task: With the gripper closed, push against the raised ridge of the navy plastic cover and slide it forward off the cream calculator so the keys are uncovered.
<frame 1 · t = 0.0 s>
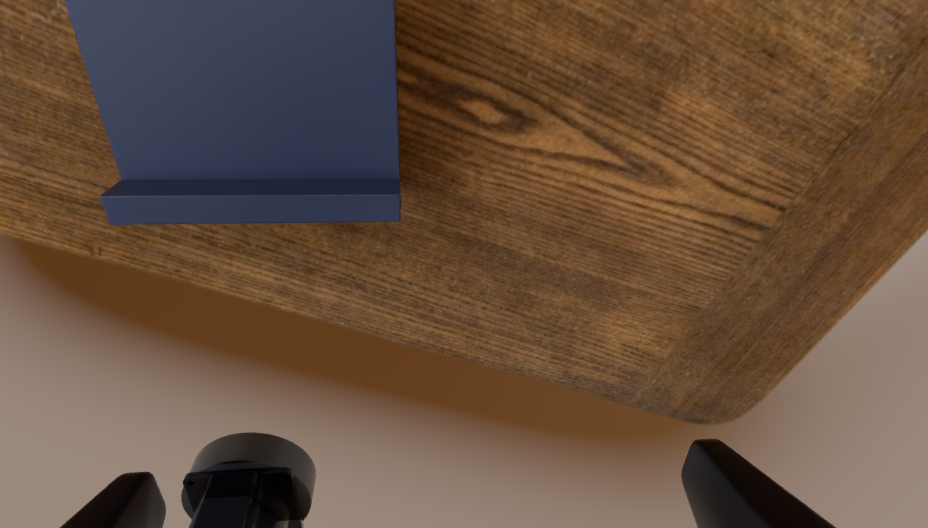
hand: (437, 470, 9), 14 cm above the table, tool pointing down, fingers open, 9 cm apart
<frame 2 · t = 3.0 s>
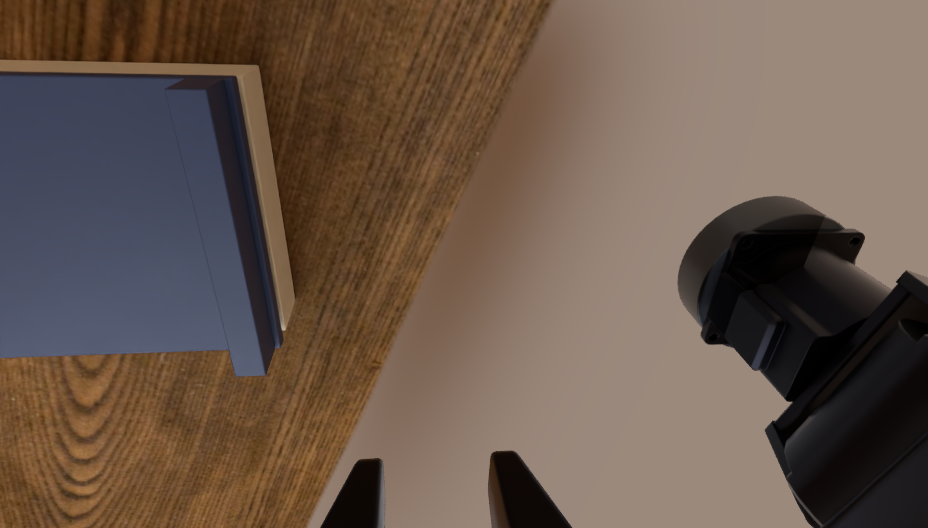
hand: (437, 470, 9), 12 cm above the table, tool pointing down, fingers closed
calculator: (39, 198, 18), on the table
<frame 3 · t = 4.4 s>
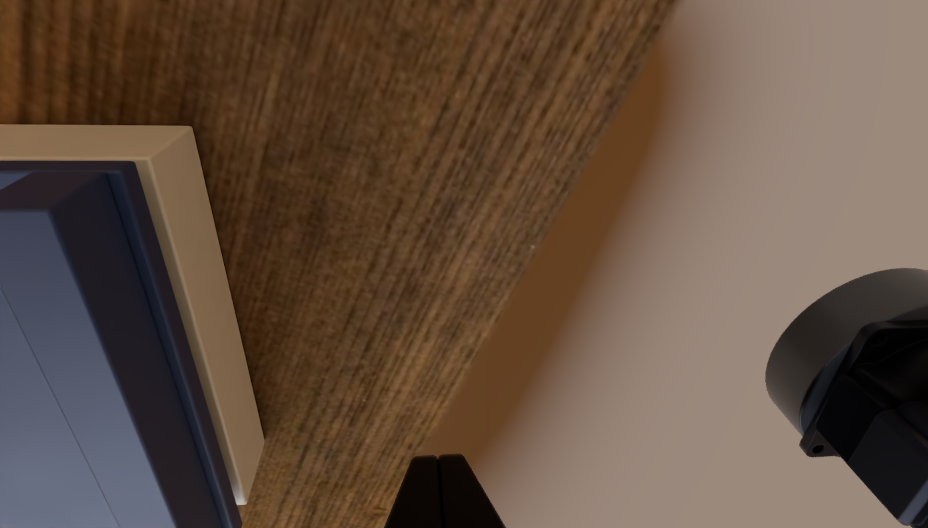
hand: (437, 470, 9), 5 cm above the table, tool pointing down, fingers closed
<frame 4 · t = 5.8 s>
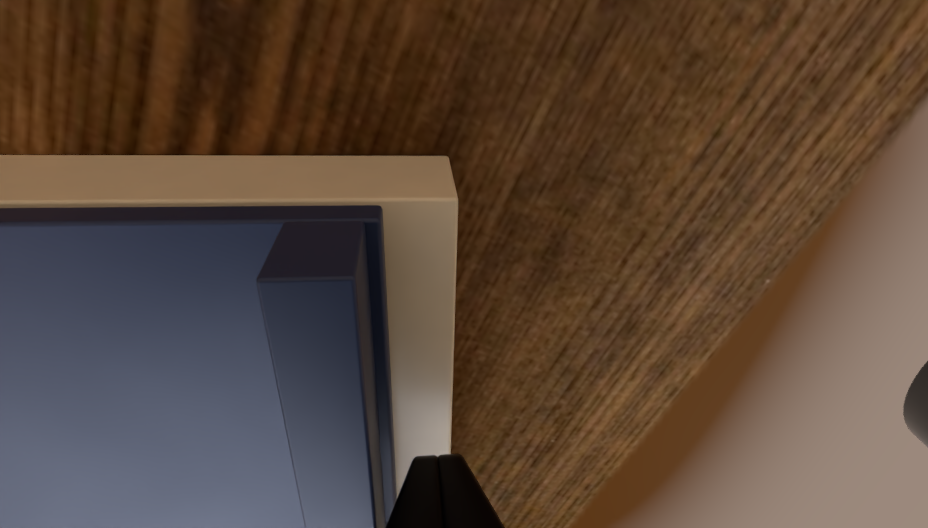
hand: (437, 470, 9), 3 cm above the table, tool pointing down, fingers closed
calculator: (57, 366, 11), on the table
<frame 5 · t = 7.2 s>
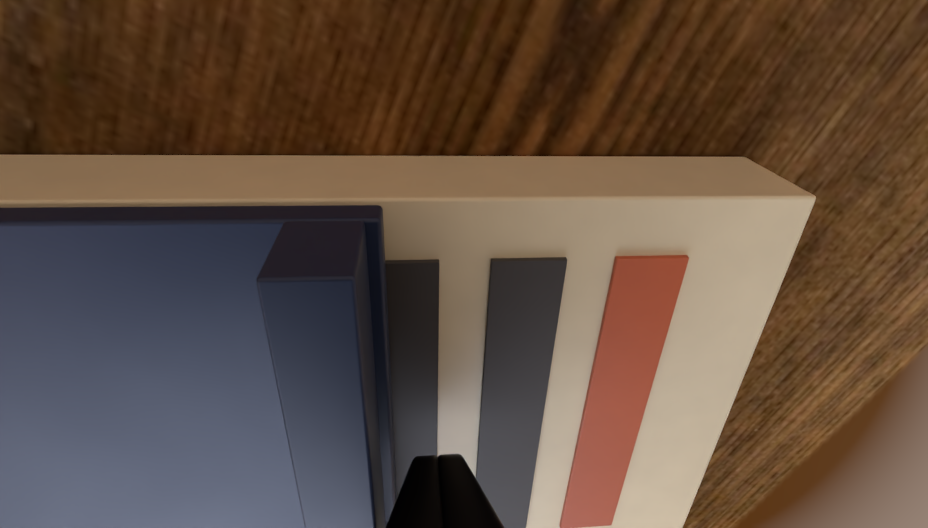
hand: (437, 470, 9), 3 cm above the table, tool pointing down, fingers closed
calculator: (335, 355, 11), on the table
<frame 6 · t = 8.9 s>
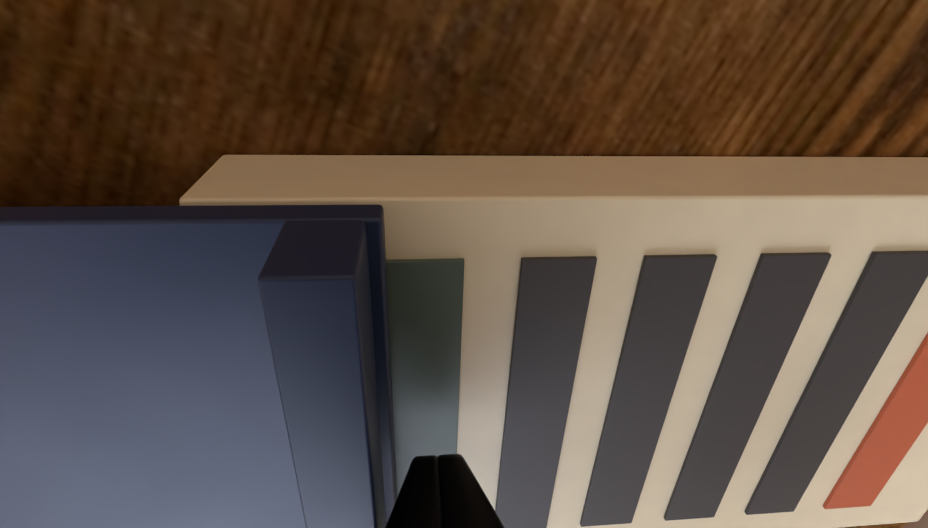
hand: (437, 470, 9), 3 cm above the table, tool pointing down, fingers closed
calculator: (623, 345, 12), on the table
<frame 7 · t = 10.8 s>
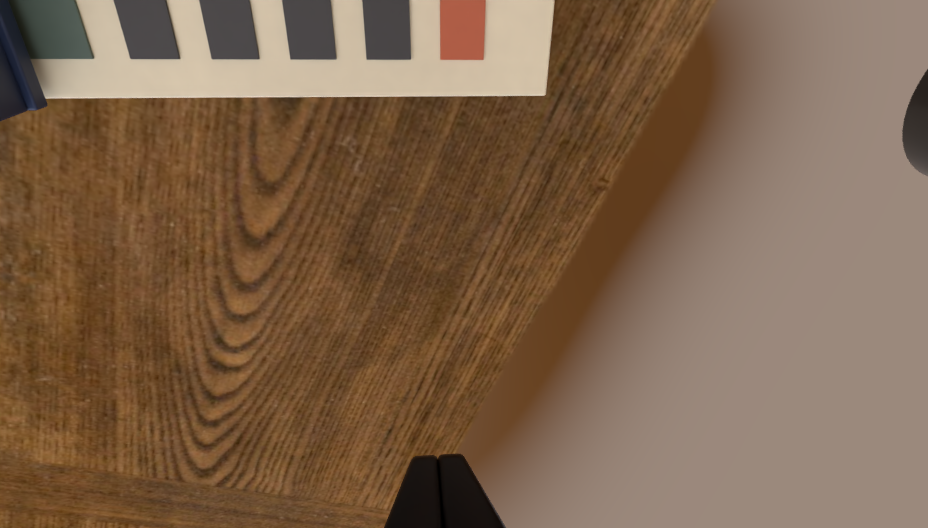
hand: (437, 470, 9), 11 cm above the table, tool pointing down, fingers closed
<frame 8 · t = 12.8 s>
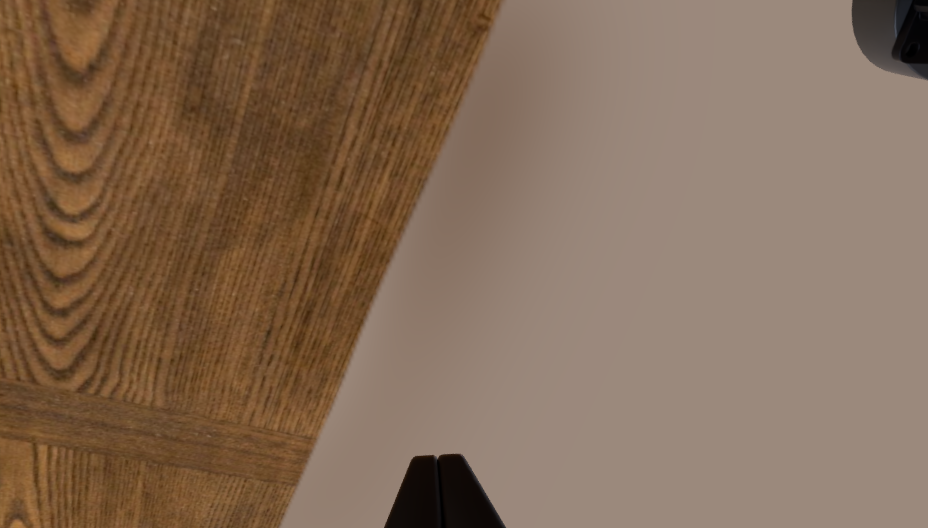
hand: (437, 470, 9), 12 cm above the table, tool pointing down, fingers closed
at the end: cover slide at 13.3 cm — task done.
